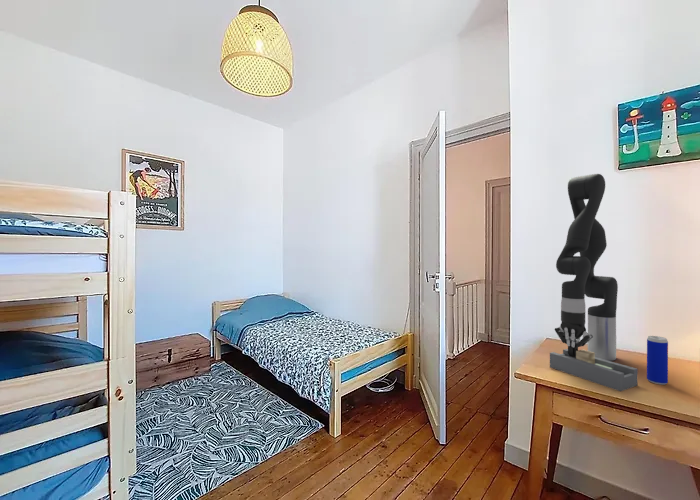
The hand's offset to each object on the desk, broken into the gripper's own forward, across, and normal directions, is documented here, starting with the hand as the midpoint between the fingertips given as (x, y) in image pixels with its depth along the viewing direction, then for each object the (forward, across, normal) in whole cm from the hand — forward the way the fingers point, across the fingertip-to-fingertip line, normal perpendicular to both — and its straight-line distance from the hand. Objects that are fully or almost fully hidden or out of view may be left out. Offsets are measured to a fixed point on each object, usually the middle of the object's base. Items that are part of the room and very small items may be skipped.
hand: (572, 356), depth 122 cm
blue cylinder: (+5, -19, -14) cm, 24 cm away
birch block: (+1, -4, 0) cm, 4 cm away
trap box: (+5, -6, 0) cm, 8 cm away
